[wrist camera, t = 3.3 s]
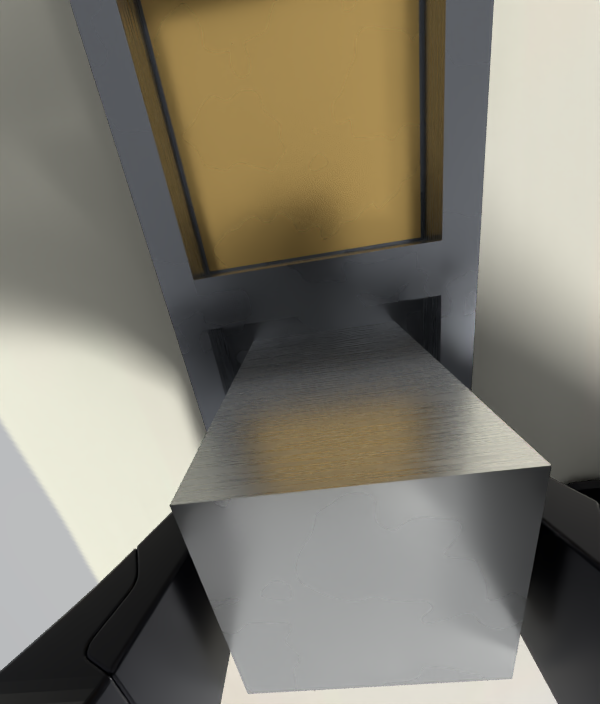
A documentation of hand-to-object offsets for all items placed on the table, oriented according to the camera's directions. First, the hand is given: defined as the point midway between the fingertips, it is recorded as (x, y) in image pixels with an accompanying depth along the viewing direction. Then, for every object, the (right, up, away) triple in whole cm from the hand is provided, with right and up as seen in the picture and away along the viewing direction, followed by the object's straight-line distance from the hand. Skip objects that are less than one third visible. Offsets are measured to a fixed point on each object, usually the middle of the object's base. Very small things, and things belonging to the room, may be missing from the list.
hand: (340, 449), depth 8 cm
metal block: (0, +1, +3) cm, 3 cm away
